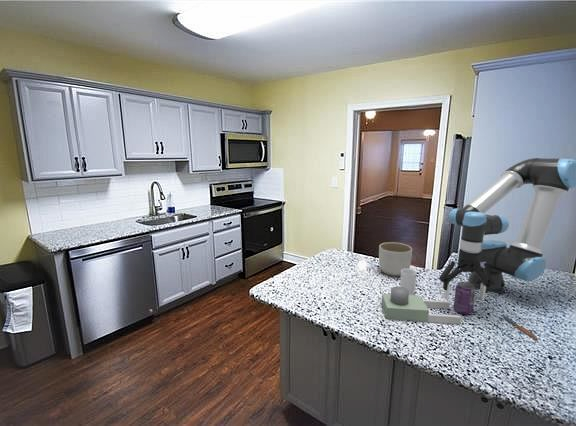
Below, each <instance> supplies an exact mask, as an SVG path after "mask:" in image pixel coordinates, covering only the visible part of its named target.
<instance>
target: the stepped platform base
mask: <svg viewBox="0 0 576 426" xmlns="http://www.w3.org/2000/svg"><path fill="white" fill-rule="evenodd" d="M450 304H451V302H450V301H449V300H435V299H434V300H433V299H432V300H431V299H423V298H422V296H421V295H415V294H414V295H409V290H408V289H406V288H404V287H400V286H397V285H396V286H392V287H391V289H390V293H381V306H382V310H383V312H384V315H385V319H386V320H398V321H411V322H413V321H414V322H427V323H436V324H438V323H439V324H453V325H461V323H462V316H461V315H455V314H454V315H453V314H452V315H451V314H439V313H438V314H437V313H430V310H429V309H431V308H432V309H442V308H443V309H445V310H446V309H447V310H450V306H451V305H450Z"/></svg>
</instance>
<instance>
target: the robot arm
mask: <svg viewBox="0 0 576 426" xmlns="http://www.w3.org/2000/svg"><path fill="white" fill-rule="evenodd" d="M529 184H530V185H532V188H533V189H534V193H533V195H532V196H533V197H532V199H531V201H530V204H529V206H528V210H527V212H526V214H525V217H524V220H523V222H522V224H521V225H522V226H521V227H520V230H519V233H518V235H517V238H516V240H515V242H513V243H510V245H509V247H507V246H508V245H507V242H505V241H501V240H493V239H492V240H491V239H489V240H487V239H486V240H484V237H485V236H486V235H488V236H489V235H498V234H499V235H500V234H503V233H505V232H507V230H508V229H509V227H510V223H509V221H508V219H507V217H505V216H503V215H500V214H499V215H497V214H493V215H491V214H486V212H488V211H489V210H490V209H491V208H493V207H494V206H495V205H497V204H498V203H499V202H500V201H501V200H502V199H504V198H505V197H506V196H507V195H509V194H510V193H512V191H513V190H515V189H518V188H521V187H523V185H529ZM575 187H576V160H575V159H571V158H564V157H561V158H544V157H542V158H541V157H540V158H539V157H535V158H534V157H533V158H528V159H524V160H522V161H520V162H517V163H516V164H514V165H512V166H510V167H508V169H505V171H502V173H501V174H500V177H499V178H498V179H497V180H496V181H494V182H493V183H492V184H490V185H489V186H488V187H487V188H486V189H485V190H483V191H482V192H481V193H480V194H478V195H477V196H476V197H475V198H473V199H472V200H471V201H470V202H468V203H467V204H466V205H464V206H463V207H462V208H459V207H458V208H453V209H452V210H450V212H449V215H448V219H449V222H450V223H451V224H453V225H456V226H458V227H462V229H461V237H460V241H459V243H460V244H459V251H458V258H457V260H453V259H450V260H449V262H448V264H447V266H446V268H445V269H444V270H443V272H442V273H441V275H440V276H439V277H438V279H439V280H440V282H442V288H443V290H444V292H443V293H444V295H443V296H444V297H445V299H449V297H450V290H451V281H453V280H454V279H455V278H456V277H457V276H459V274H462V273H470V274H469V276H468V277H467V278H468V279H467V283H470V284H473V285H474V286H475V290H476V289H477V290H479V292H478V299H480V301H482V302H485V297H486V296H485V295H486V294H488V293H494V294H495V293H502V292H504V291H505V288H506V287H505V286H506V284H505V280H504V276H503V273H504V274H505V275H509V276H511V277H514V278H516V279H517V280H523V281H526V282H533V281H535V280H537V279H538V278H540V276H542V275H543V273H544V271H545V270H546V267H547V262H546V259H545V258H544V257H543V255H544V253H543V251H542V249H541V248H542V244H543V242H544V241H545V238H546V235H547V232H548V230H549V227H550V224H551V222H552V220H553V217H554V214H555V212H556V209H557V207H558V205H559V202H560V199H561V197H562V196H563V195H566V194H567V193H568V192H569V189H573V188H575ZM453 269H454V270H453Z"/></svg>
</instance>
